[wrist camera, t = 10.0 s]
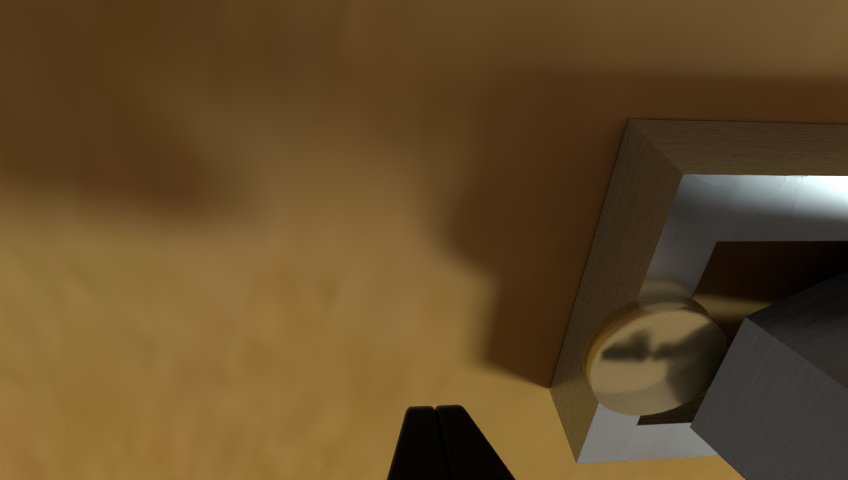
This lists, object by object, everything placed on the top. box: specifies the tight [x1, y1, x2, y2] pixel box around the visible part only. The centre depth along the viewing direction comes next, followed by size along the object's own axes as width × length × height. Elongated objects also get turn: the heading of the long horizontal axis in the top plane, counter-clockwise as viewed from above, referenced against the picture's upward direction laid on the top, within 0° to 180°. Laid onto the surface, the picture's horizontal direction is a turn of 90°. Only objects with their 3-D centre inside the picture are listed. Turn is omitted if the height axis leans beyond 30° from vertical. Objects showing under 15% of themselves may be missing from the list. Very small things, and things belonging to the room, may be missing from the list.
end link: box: [550, 119, 848, 464], centre depth 12 cm, size 10×7×3 cm
